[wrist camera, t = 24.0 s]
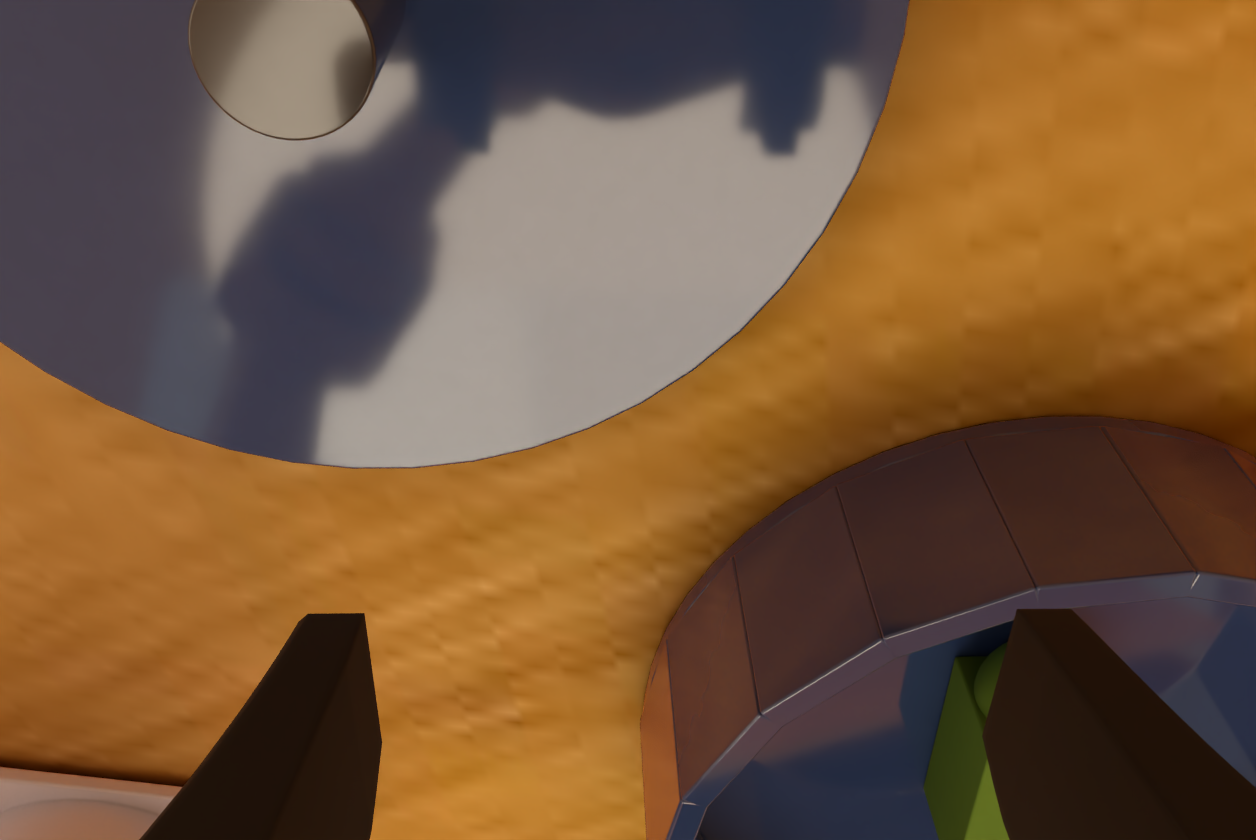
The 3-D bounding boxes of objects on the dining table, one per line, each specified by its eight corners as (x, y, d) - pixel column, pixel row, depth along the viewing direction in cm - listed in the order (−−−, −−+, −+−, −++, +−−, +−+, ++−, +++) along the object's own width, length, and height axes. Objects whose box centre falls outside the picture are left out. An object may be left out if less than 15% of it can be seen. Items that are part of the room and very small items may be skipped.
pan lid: (734, 498, 25) (760, 642, 21) (-180, 357, 22) (-326, 494, 19) (1095, -585, 15) (1253, -655, 12) (-439, -1058, 13) (-843, -1335, 9)
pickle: (1027, 821, 30) (1065, 919, 28) (913, 823, 30) (941, 921, 28) (1097, 609, 26) (1148, 703, 24) (965, 610, 26) (1003, 705, 24)
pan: (1154, 944, 35) (1233, 1122, 30) (580, 885, 32) (581, 1071, 28) (1513, 483, 25) (1697, 648, 21) (749, 350, 23) (787, 508, 19)
